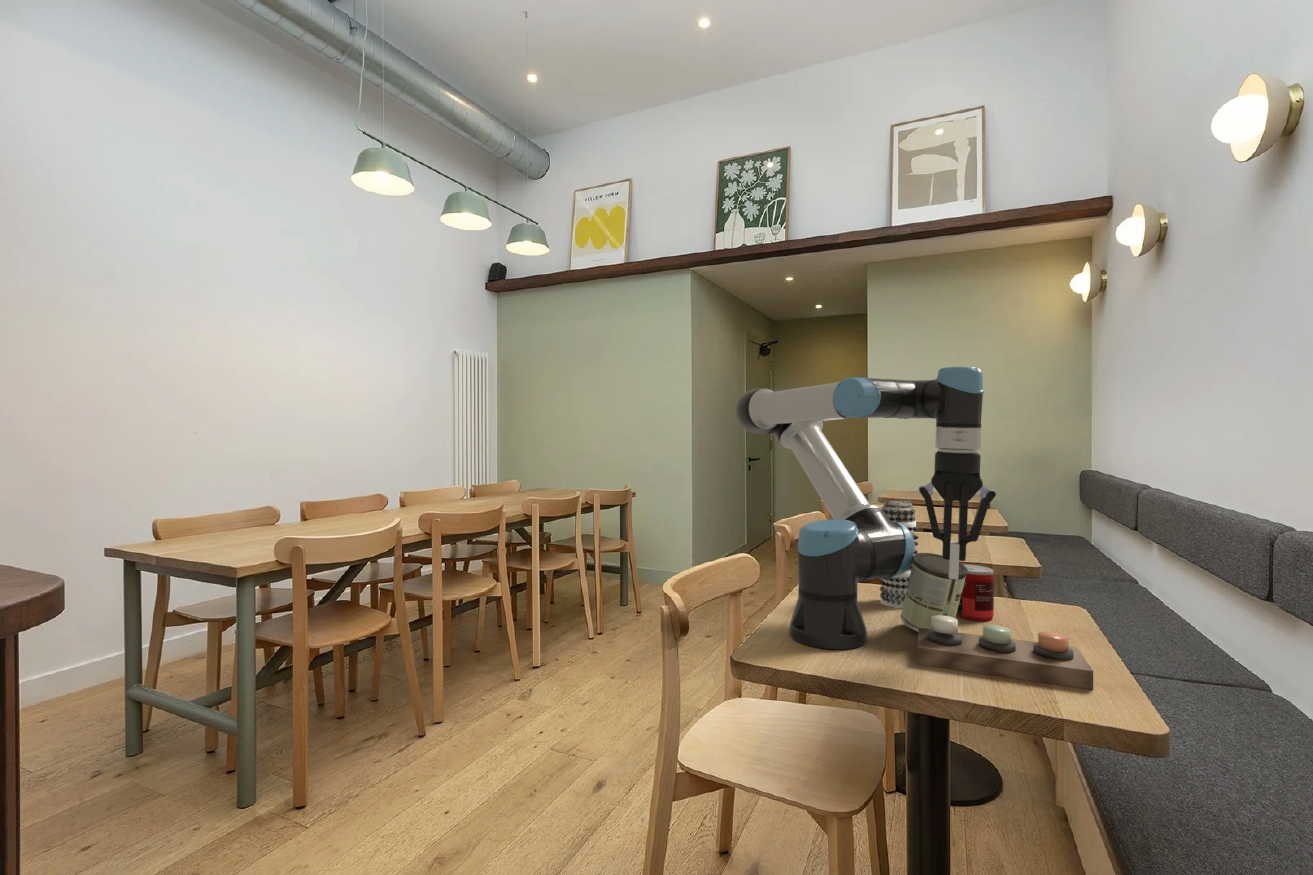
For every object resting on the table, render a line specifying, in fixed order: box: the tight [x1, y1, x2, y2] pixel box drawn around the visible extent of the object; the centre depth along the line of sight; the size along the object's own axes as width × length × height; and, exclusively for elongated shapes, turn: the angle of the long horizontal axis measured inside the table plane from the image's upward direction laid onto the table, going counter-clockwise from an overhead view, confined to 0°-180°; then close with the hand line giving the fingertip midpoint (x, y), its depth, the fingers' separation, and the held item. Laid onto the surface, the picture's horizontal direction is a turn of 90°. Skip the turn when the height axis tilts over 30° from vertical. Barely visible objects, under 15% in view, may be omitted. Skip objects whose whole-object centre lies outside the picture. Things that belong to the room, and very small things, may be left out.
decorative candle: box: [879, 500, 920, 609], centre depth 145 cm, size 9×9×25 cm
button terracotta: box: [1037, 631, 1070, 652], centre depth 103 cm, size 4×4×2 cm
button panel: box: [916, 628, 1094, 690], centre depth 106 cm, size 26×12×4 cm, turn 65°
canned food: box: [956, 564, 995, 622], centre depth 134 cm, size 8×8×11 cm
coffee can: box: [900, 552, 968, 633], centre depth 123 cm, size 10×10×14 cm
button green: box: [982, 624, 1012, 644], centre depth 106 cm, size 4×4×2 cm
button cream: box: [931, 615, 959, 634], centre depth 110 cm, size 4×4×2 cm
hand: (953, 577), depth 110 cm, fingers closed
